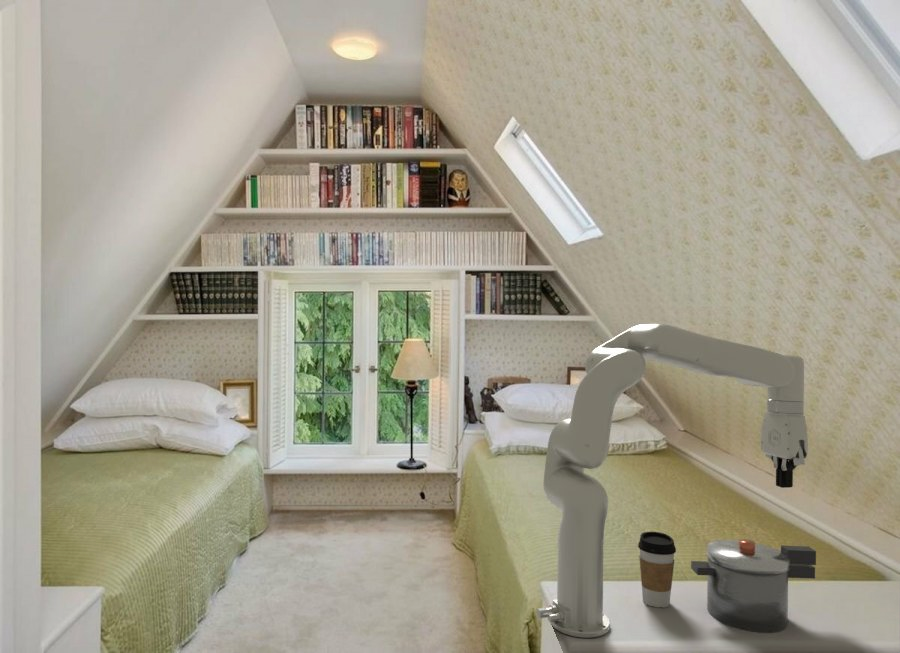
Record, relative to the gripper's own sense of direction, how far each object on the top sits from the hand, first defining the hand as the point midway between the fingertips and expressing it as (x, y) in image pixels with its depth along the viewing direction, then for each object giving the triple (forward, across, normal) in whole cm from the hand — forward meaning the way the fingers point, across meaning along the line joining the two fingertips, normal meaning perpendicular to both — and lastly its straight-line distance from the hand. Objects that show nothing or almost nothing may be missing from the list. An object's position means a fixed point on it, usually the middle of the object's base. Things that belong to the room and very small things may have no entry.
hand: (784, 486), depth 140 cm
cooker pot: (+27, +4, -11) cm, 30 cm away
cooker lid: (+15, +4, -10) cm, 19 cm away
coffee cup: (+28, -6, -29) cm, 40 cm away
